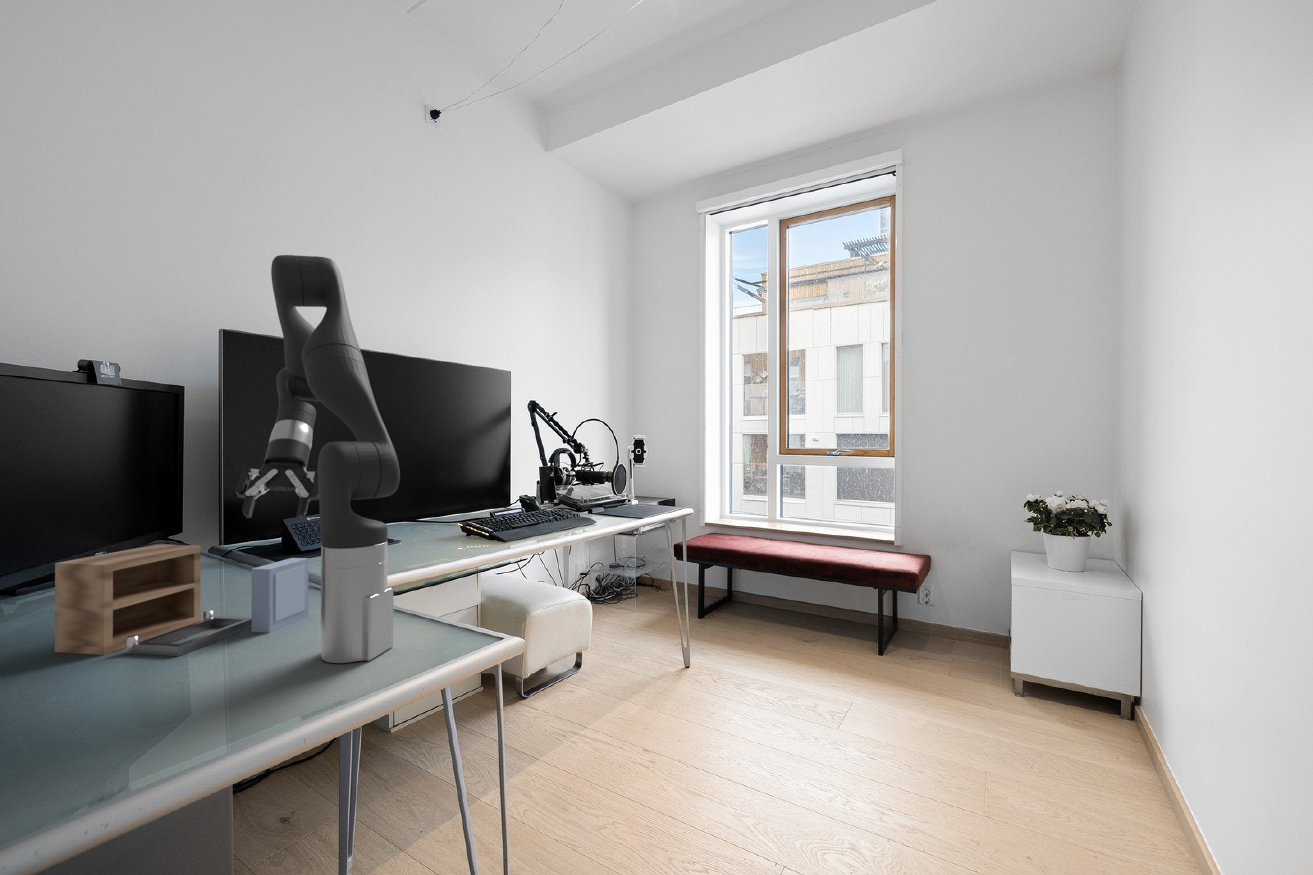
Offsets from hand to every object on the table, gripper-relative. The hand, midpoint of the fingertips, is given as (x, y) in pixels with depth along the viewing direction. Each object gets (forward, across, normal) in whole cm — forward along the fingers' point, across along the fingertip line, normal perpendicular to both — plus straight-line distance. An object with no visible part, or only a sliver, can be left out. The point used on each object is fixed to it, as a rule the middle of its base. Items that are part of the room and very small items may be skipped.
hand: (273, 516), depth 110 cm
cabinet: (+21, -17, +4) cm, 27 cm away
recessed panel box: (+21, +5, +1) cm, 21 cm away
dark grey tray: (+23, -6, -2) cm, 24 cm away
